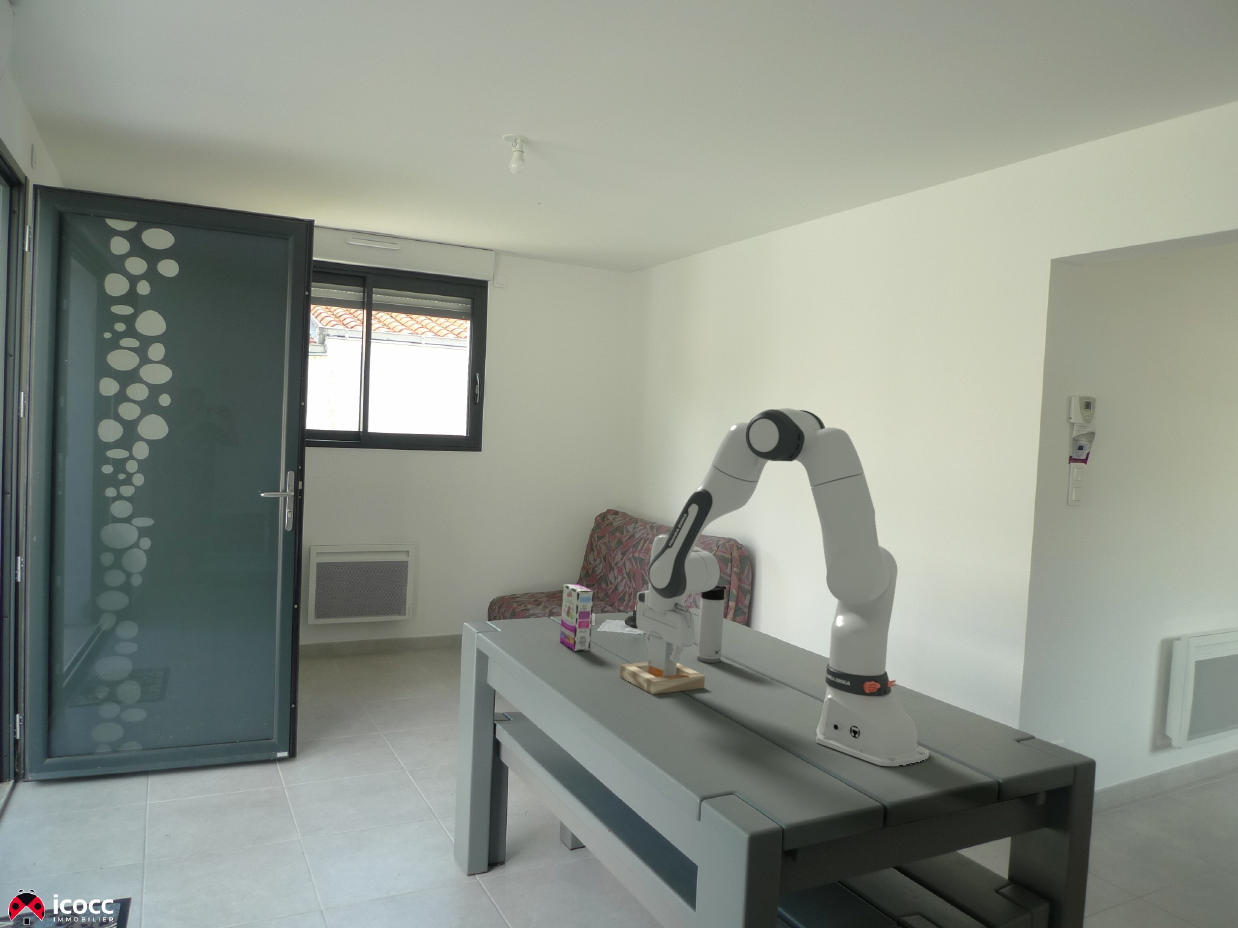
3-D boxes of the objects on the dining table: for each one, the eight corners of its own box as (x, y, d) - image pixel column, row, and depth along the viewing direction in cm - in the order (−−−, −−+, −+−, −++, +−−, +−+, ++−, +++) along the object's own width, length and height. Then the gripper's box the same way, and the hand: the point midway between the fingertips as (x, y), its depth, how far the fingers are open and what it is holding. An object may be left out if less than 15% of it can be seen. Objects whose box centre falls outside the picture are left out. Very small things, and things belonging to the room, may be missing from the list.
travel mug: (722, 663, 225) (727, 588, 224) (697, 662, 225) (702, 587, 225) (720, 657, 231) (725, 584, 231) (696, 656, 231) (700, 582, 231)
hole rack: (704, 687, 202) (704, 674, 202) (652, 694, 195) (653, 680, 195) (669, 671, 215) (670, 658, 215) (619, 676, 207) (620, 663, 207)
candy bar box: (591, 651, 231) (594, 590, 230) (574, 652, 228) (577, 591, 228) (575, 640, 241) (579, 583, 240) (559, 641, 239) (562, 583, 238)
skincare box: (645, 680, 206) (648, 631, 205) (658, 677, 209) (661, 629, 208) (663, 686, 201) (666, 636, 201) (676, 684, 204) (679, 634, 204)
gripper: (702, 607, 197) (699, 667, 197) (654, 591, 214) (651, 645, 215) (680, 609, 194) (676, 669, 194) (633, 592, 211) (629, 647, 212)
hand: (662, 656), depth 205 cm, fingers open, 8 cm apart
